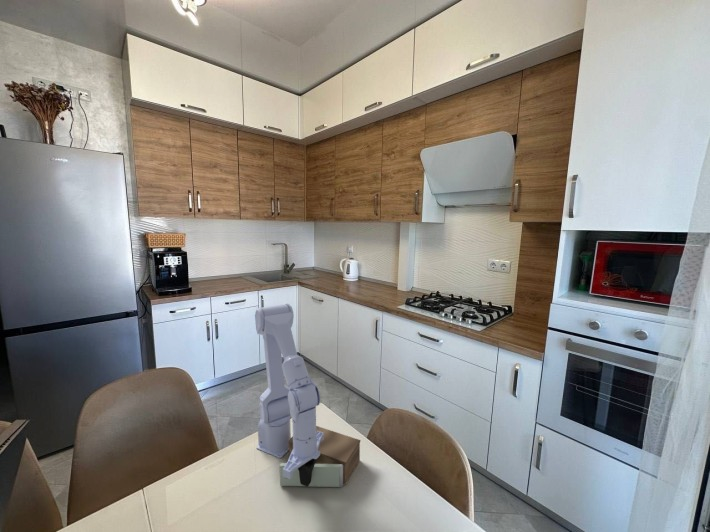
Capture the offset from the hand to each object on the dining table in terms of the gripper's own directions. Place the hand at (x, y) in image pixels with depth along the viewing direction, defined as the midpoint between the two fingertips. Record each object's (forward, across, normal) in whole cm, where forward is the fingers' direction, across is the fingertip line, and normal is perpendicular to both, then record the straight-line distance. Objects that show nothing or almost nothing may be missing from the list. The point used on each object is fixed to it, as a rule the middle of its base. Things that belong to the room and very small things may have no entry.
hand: (305, 483), depth 73 cm
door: (+2, +2, 0) cm, 3 cm away
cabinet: (+2, +11, +1) cm, 11 cm away
